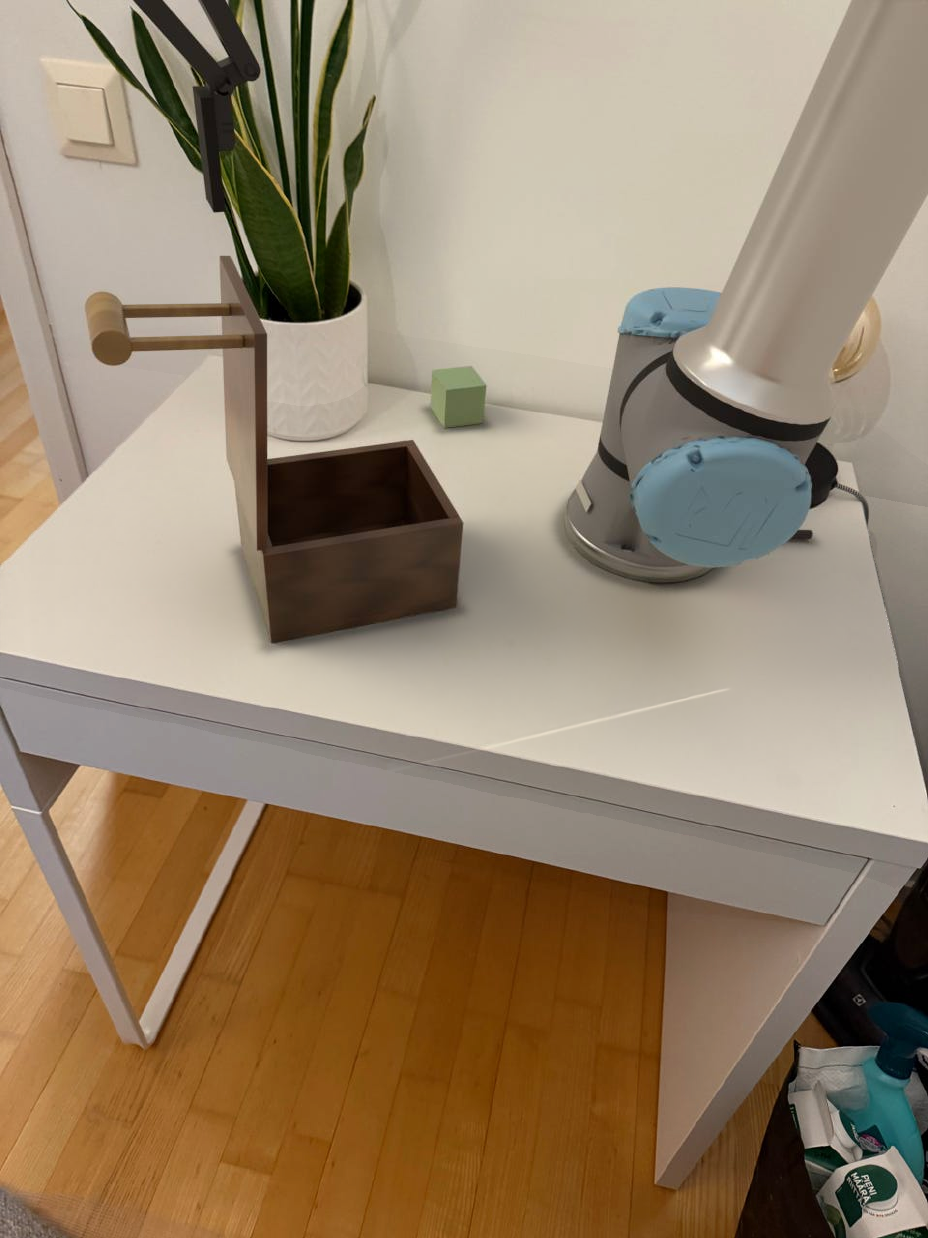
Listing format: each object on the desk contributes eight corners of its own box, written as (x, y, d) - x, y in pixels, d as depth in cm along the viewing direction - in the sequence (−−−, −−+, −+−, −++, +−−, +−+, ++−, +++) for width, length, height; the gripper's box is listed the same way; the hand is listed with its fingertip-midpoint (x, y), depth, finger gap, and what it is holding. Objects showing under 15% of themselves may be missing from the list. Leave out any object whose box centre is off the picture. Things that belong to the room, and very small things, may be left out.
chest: (410, 521, 88) (413, 439, 82) (456, 607, 79) (463, 522, 73) (241, 548, 83) (231, 463, 77) (271, 643, 74) (262, 555, 68)
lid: (230, 255, 66) (76, 254, 63) (267, 333, 58) (91, 337, 54) (236, 458, 77) (105, 467, 73) (267, 549, 68) (120, 565, 65)
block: (468, 402, 106) (471, 365, 102) (483, 423, 102) (486, 385, 99) (430, 407, 104) (432, 369, 101) (443, 428, 101) (446, 389, 98)
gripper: (262, -237, 50) (288, 181, 64) (-285, -281, 42) (-118, 205, 56) (296, -235, 45) (317, 218, 59) (-318, -284, 37) (-125, 251, 51)
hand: (105, 213), depth 58 cm, fingers open, 13 cm apart
